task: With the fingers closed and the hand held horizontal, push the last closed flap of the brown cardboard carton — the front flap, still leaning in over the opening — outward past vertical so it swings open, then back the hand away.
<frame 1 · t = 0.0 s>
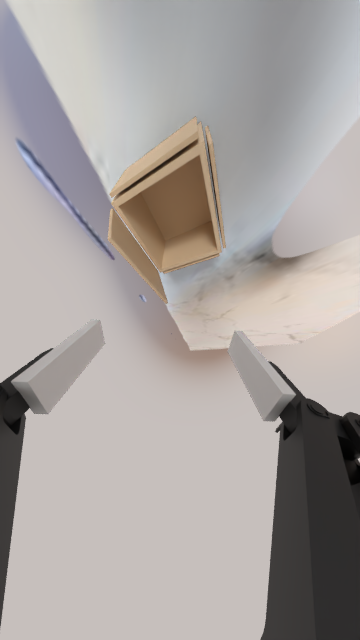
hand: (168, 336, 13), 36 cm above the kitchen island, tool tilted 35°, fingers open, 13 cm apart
carton: (177, 200, 31), on the kitchen island
front flap: (142, 261, 25), point 19 cm above the kitchen island, hinge at -20.0°
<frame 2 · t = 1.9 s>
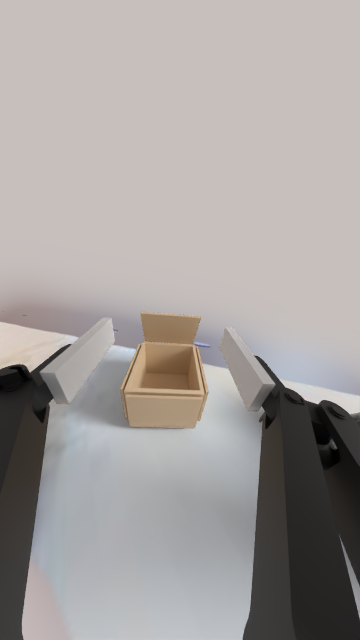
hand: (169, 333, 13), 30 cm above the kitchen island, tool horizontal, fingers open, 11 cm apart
carton: (165, 394, 39), on the kitchen island
front flap: (170, 330, 36), point 19 cm above the kitchen island, hinge at -20.0°
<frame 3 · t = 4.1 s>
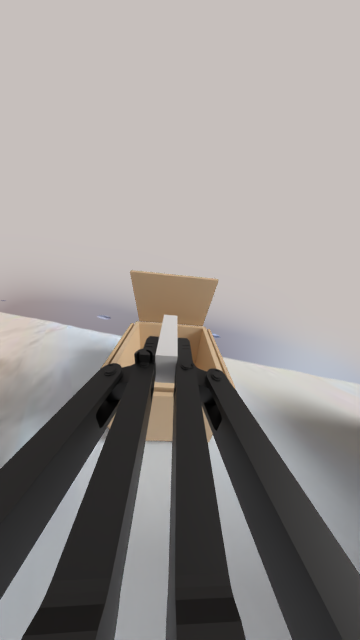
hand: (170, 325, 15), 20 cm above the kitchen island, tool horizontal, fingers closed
carton: (165, 392, 29), on the kitchen island
front flap: (173, 303, 26), point 19 cm above the kitchen island, hinge at -20.0°
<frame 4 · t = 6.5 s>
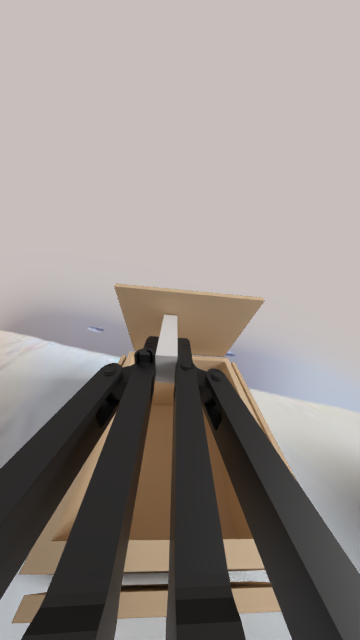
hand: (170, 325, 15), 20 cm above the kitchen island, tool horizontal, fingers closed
carton: (172, 457, 20), on the kitchen island
front flap: (184, 329, 17), point 19 cm above the kitchen island, hinge at -20.0°, touching gripper
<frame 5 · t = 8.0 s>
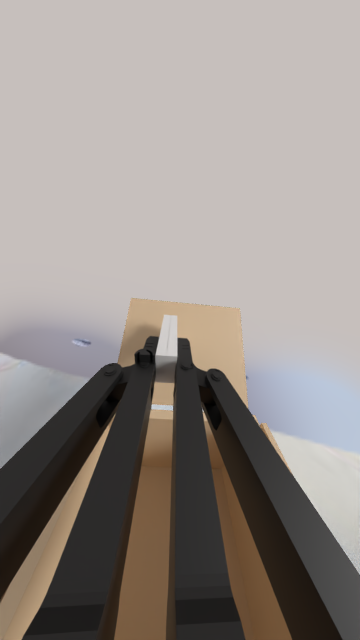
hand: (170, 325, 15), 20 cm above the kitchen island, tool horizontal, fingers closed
carton: (166, 582, 12), on the kitchen island
front flap: (183, 348, 16), point 17 cm above the kitchen island, hinge at 45.1°, touching gripper
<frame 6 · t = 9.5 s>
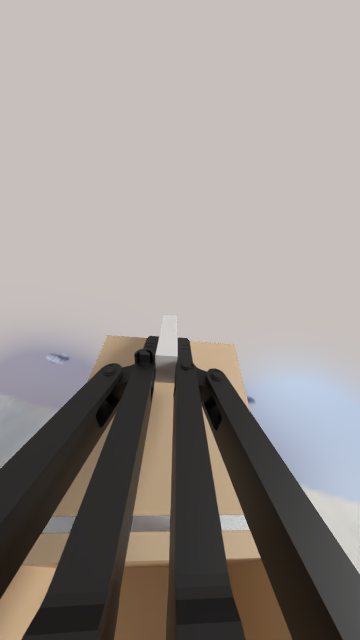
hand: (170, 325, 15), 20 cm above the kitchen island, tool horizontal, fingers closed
front flap: (168, 400, 12), point 16 cm above the kitchen island, hinge at 63.8°, touching gripper
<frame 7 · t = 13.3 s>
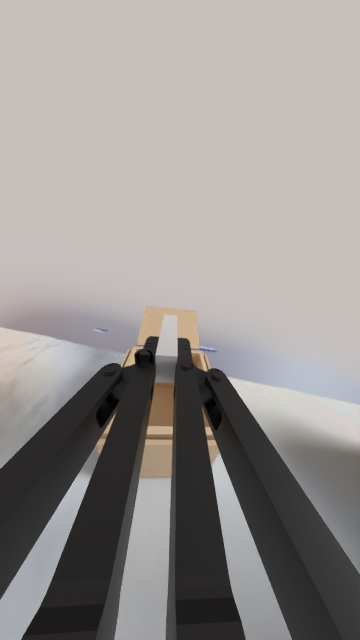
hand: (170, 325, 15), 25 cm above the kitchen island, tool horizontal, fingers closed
carton: (162, 418, 29), on the kitchen island
front flap: (170, 326, 34), point 16 cm above the kitchen island, hinge at 63.9°
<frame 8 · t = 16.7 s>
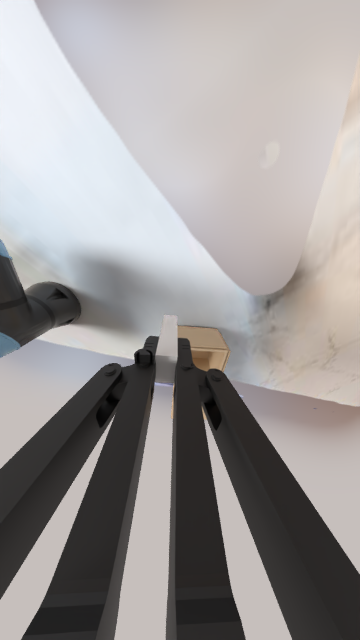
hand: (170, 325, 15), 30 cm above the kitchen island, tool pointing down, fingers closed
carton: (193, 343, 54), on the kitchen island
front flap: (192, 401, 46), point 16 cm above the kitchen island, hinge at 63.9°
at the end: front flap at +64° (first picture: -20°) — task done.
